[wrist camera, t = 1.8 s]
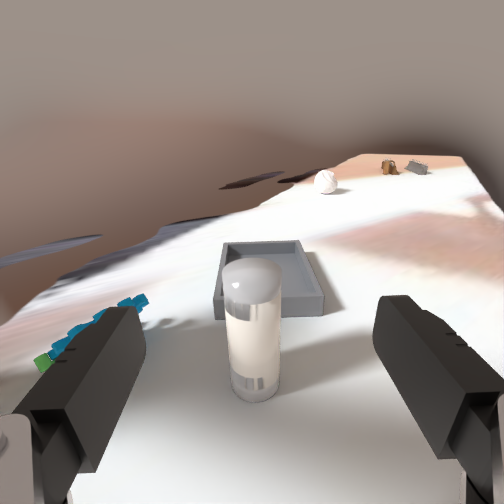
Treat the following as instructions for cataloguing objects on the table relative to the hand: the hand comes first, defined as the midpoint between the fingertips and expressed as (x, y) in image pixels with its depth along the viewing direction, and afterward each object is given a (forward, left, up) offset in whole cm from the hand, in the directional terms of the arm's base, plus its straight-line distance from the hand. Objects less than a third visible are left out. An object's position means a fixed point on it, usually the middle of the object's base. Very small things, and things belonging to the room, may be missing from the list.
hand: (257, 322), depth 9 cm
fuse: (0, +11, -16) cm, 20 cm away
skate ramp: (+67, +125, -17) cm, 143 cm away
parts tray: (+2, +29, -16) cm, 33 cm away
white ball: (+26, +85, -16) cm, 91 cm away
